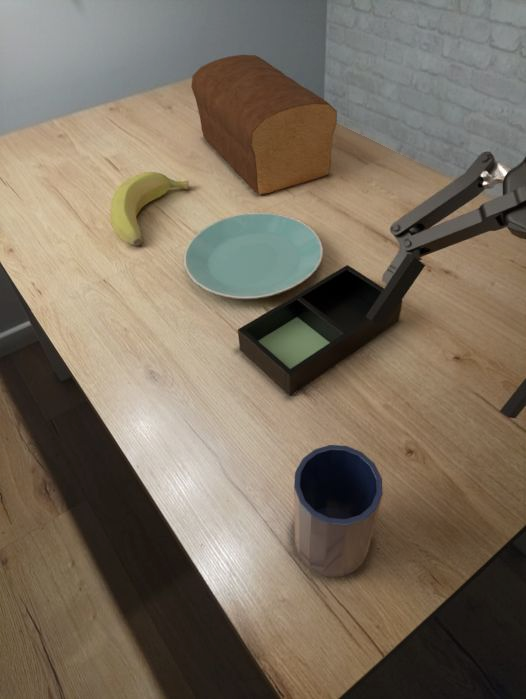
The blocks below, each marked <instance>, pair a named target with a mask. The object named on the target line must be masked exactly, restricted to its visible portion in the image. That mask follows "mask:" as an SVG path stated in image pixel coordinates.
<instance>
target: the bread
mask: <svg viewBox="0 0 526 699" xmlns="http://www.w3.org/2000/svg"><path fill="white" fill-rule="evenodd" d="M190 88H191V90H192V93H193V95H194V98H195V102H196V106H197V111H198V115H199V121H200V127H201V132H202V135H203V138H204V139H205V140H206V142H207V143H208V144H209V145H210V146H211V147H213V149H214V150H215V151H216V152H217V153H218V154H219V155H220V157H221V158H222V159H223V160H224V161H225V162H226V163H227V164H228V165H229V166H230V167H231V168H232V170H234V172H235V173H236V174H237V175H238V176H239V177H240V178H242V180H243V181H245V182H246V184H247V185H248V186H249V188H251V189H252V190H253V191H254V192H255V193H256V194H257V195H265V194H270V193H274V192H278V191H280V190H283V189H287V188H290V187H294V186H298V185H301V184H304V183H307V182H310V181H314V180H317V179H320V178H321V179H322V178H323V177H325V176H327V175H330V170H331V169H330V168H331V154H332V148H333V147H332V146H333V139H334V138H333V137H334V132H335V129H336V126H337V122H338V121H337V120H338V118H337V117H338V115H337V114H338V112H337V110H336V109H335V108H334V107H333V106H332V105H331V103H329V102H328V101H326V100H325V99H324V98H322V97H321V96H319V95H318V94H316V93H314V92H313V91H311V90H309V89H308V88H306V87H305V86H302V85H301V84H300V83H298V82H297V81H296V80H294V79H293V78H291V77H289V76H287V75H286V74H284V73H283V71H282V70H279V69H278V68H276V67H274V65H272V64H271V63H269V62H268V61H266V60H265V59H263V58H261V57H260V56H258V55H256V54H255V55H254V54H237V55H230V56H226V57H221V58H219V59H218V58H217V59H215V60H213V61H210V62H209V63H206V64H204V65H202V66H200V67H199V68H198V70H196V71H195V72H194V73H193V74H192V77H191V86H190Z"/></svg>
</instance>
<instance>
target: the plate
mask: <svg viewBox="0 0 526 699" xmlns="http://www.w3.org/2000/svg"><path fill="white" fill-rule="evenodd" d="M323 257H324V247H323V244H322V241H321V238H320V237H319V236H318V234H317V233H316V231H315V230H313V228H312V227H310V226H309V225H308V224H306V223H304V222H303V221H301V220H298V219H297V218H293V217H290V216H288V215H285V214H284V215H283V214H279V213H271V212H248V213H241V214H235V215H231V216H227V217H224V218H221V219H219V220H217V221H214V222H212V223H210V224H209V225H207V226H205V227H204V228H203V229H201V230H200V231H199V232H197V233H196V235H195V236H193V238H192V239H191V240H190V242H189V243H188V244H187V246H186V249H185V251H184V254H183V264H184V269H185V271H186V273H187V276H189V278H190V279H191V280H192V281H193V282H194V283H195V284H196V285H197V286H198V287H200V288H201V289H203V290H205V291H207V292H209V293H211V294H213V295H216V296H220V297H223V298H228V299H234V300H235V299H236V300H259V299H264V298H269V297H273V296H276V295H279V294H283V293H285V292H288V291H290V290H292V289H295V288H296V287H297V286H299V285H301V284H302V283H304V282H305V281H307V280H308V279H309V278H311V276H312V275H313V274H315V273H316V271H317V269H318V268H319V267H320V265H321V263H322V260H323Z"/></svg>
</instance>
